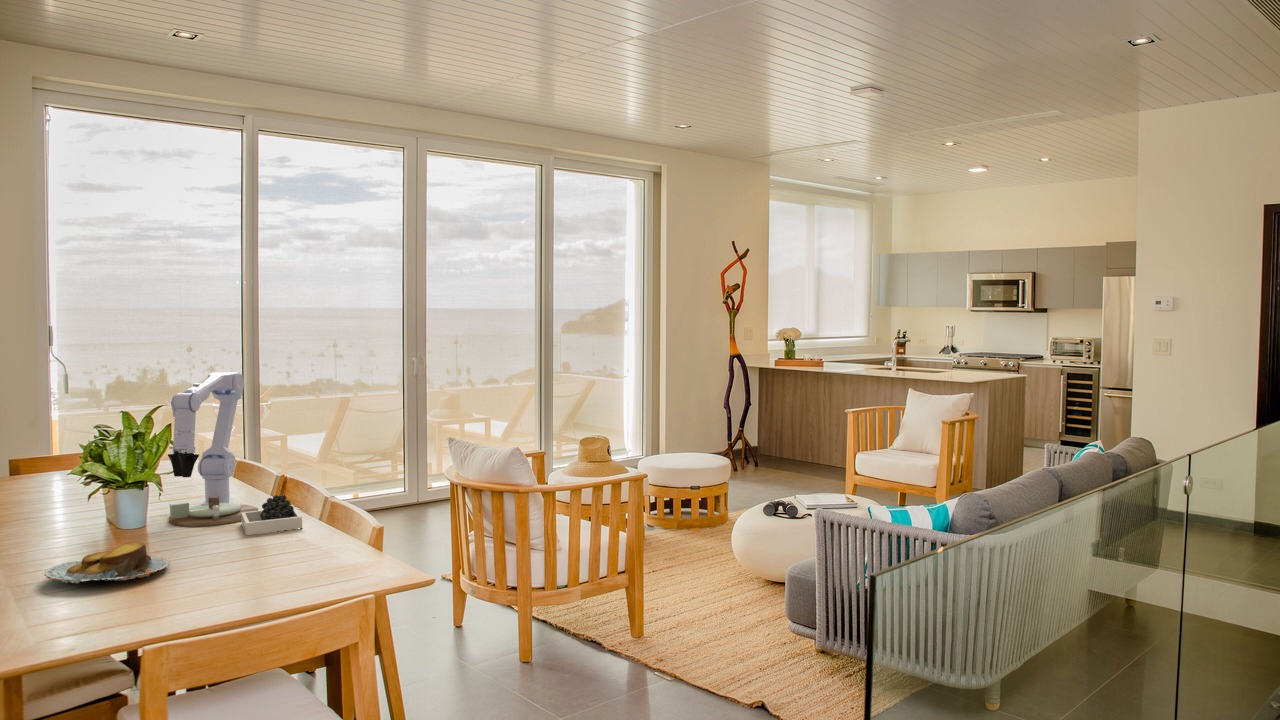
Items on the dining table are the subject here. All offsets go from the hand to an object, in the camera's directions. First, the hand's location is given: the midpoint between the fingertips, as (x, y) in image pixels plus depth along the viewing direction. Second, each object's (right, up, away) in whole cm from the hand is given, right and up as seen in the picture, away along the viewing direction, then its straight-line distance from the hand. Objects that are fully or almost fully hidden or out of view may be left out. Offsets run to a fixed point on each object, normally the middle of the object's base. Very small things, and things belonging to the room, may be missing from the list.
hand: (182, 476), depth 267 cm
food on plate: (+11, -17, -55) cm, 59 cm away
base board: (+8, -13, +4) cm, 16 cm away
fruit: (+31, -14, -7) cm, 34 cm away
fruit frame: (+30, -14, -8) cm, 34 cm away
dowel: (+12, -13, -4) cm, 18 cm away
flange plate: (+6, -11, +3) cm, 13 cm away
